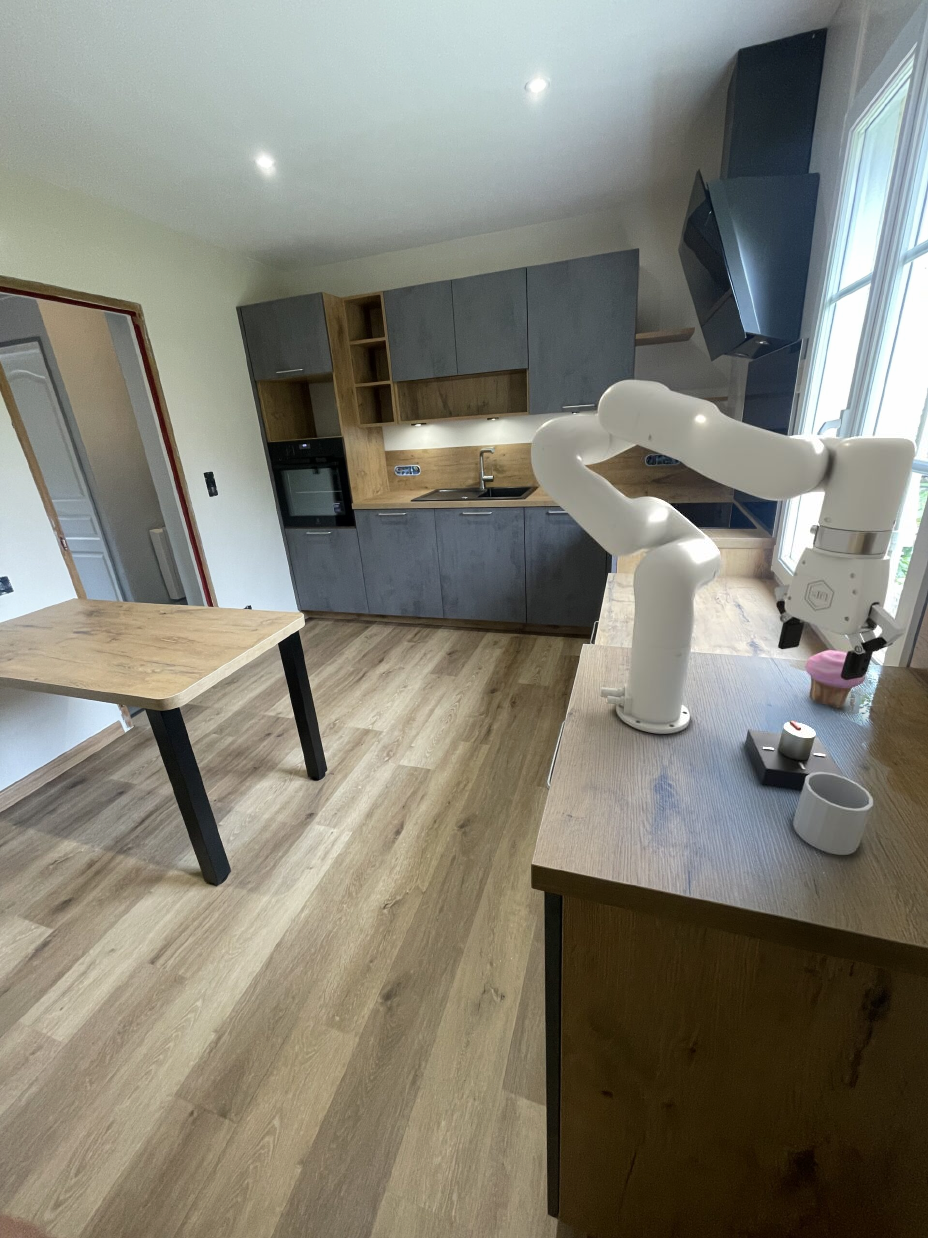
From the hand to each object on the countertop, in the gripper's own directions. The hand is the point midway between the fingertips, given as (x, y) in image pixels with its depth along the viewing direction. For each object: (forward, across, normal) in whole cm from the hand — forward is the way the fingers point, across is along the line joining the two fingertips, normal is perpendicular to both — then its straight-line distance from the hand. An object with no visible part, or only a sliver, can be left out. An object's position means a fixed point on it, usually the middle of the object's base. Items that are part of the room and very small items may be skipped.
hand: (817, 661), depth 67 cm
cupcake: (+18, -13, +23) cm, 32 cm away
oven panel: (+18, 0, 0) cm, 18 cm away
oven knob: (+15, 0, 0) cm, 15 cm away
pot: (+18, +11, -6) cm, 23 cm away
